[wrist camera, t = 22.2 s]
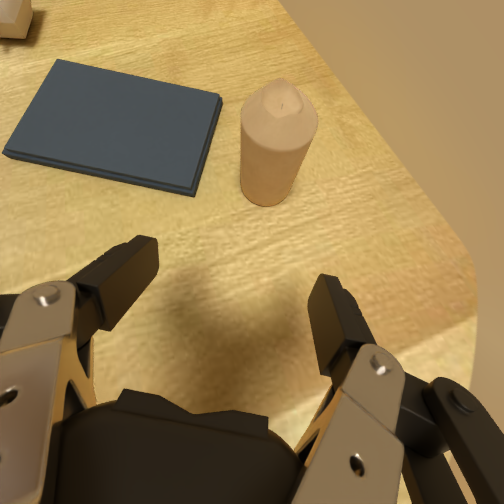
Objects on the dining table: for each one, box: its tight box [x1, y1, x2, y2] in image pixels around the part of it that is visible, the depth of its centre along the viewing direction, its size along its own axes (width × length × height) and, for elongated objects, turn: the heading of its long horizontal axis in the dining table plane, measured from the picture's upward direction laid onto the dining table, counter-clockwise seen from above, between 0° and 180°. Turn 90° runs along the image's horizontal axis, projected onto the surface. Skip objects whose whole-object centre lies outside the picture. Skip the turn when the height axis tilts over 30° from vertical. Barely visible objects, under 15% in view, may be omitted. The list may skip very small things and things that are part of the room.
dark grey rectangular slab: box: [2, 59, 223, 197], centre depth 22 cm, size 20×13×1 cm, turn 79°
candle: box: [241, 78, 318, 206], centre depth 18 cm, size 6×6×10 cm
